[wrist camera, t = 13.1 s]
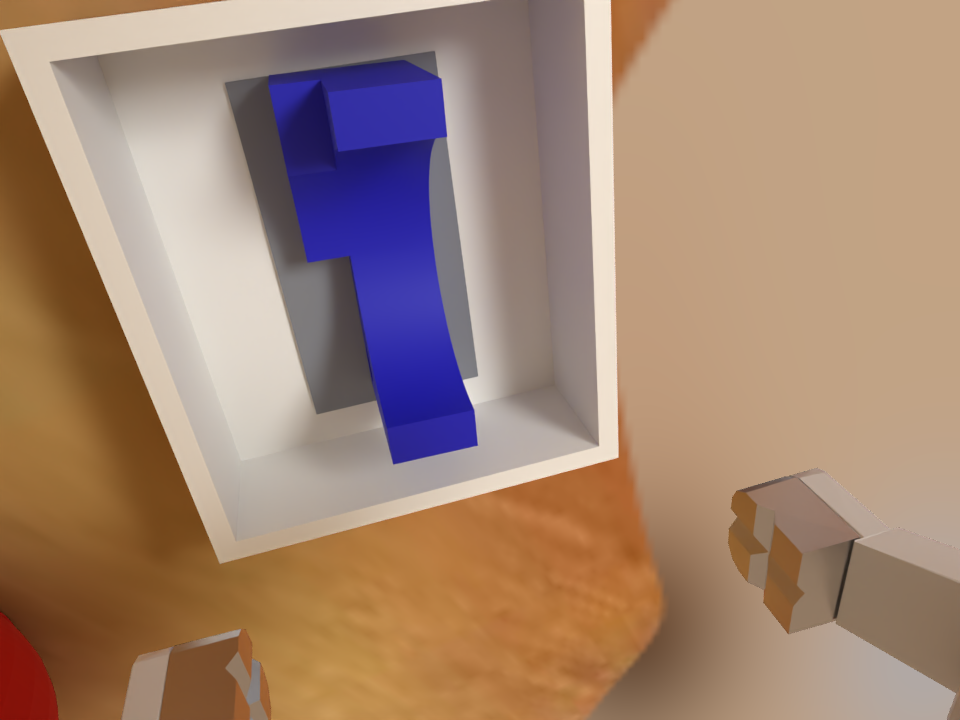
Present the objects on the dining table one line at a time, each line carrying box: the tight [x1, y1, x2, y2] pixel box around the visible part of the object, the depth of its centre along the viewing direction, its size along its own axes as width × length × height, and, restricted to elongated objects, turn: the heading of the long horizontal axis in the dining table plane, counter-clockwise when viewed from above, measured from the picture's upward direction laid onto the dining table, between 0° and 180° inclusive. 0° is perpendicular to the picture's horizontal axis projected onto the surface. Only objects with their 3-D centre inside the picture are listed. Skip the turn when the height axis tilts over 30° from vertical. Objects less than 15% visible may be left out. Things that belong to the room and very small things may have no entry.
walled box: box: [0, 0, 618, 564], centre depth 25 cm, size 16×18×6 cm
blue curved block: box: [268, 60, 478, 465], centre depth 23 cm, size 12×4×6 cm, turn 4°
